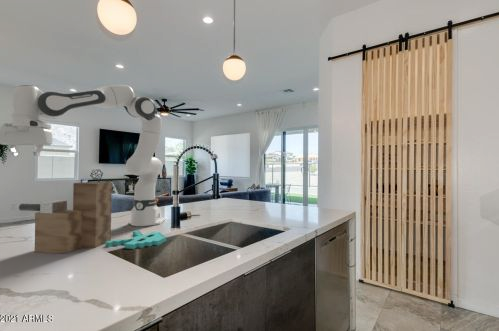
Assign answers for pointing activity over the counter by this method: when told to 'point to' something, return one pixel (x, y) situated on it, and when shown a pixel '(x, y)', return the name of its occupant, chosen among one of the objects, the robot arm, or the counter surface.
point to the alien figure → (139, 240)
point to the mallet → (46, 206)
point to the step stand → (77, 221)
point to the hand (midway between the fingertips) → (25, 155)
